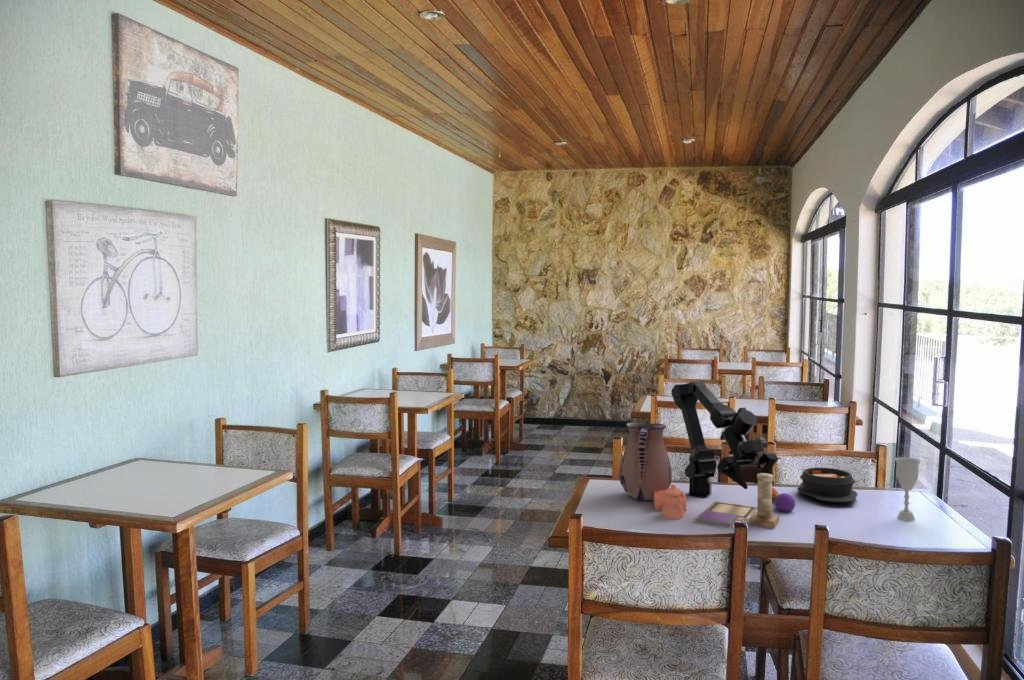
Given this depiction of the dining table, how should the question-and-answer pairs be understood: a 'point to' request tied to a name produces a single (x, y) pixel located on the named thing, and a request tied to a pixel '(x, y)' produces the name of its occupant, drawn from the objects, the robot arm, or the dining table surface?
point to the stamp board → (731, 511)
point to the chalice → (907, 482)
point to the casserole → (828, 485)
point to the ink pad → (717, 518)
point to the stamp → (764, 503)
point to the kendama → (783, 501)
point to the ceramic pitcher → (645, 461)
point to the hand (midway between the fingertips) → (759, 487)
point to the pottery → (670, 502)
